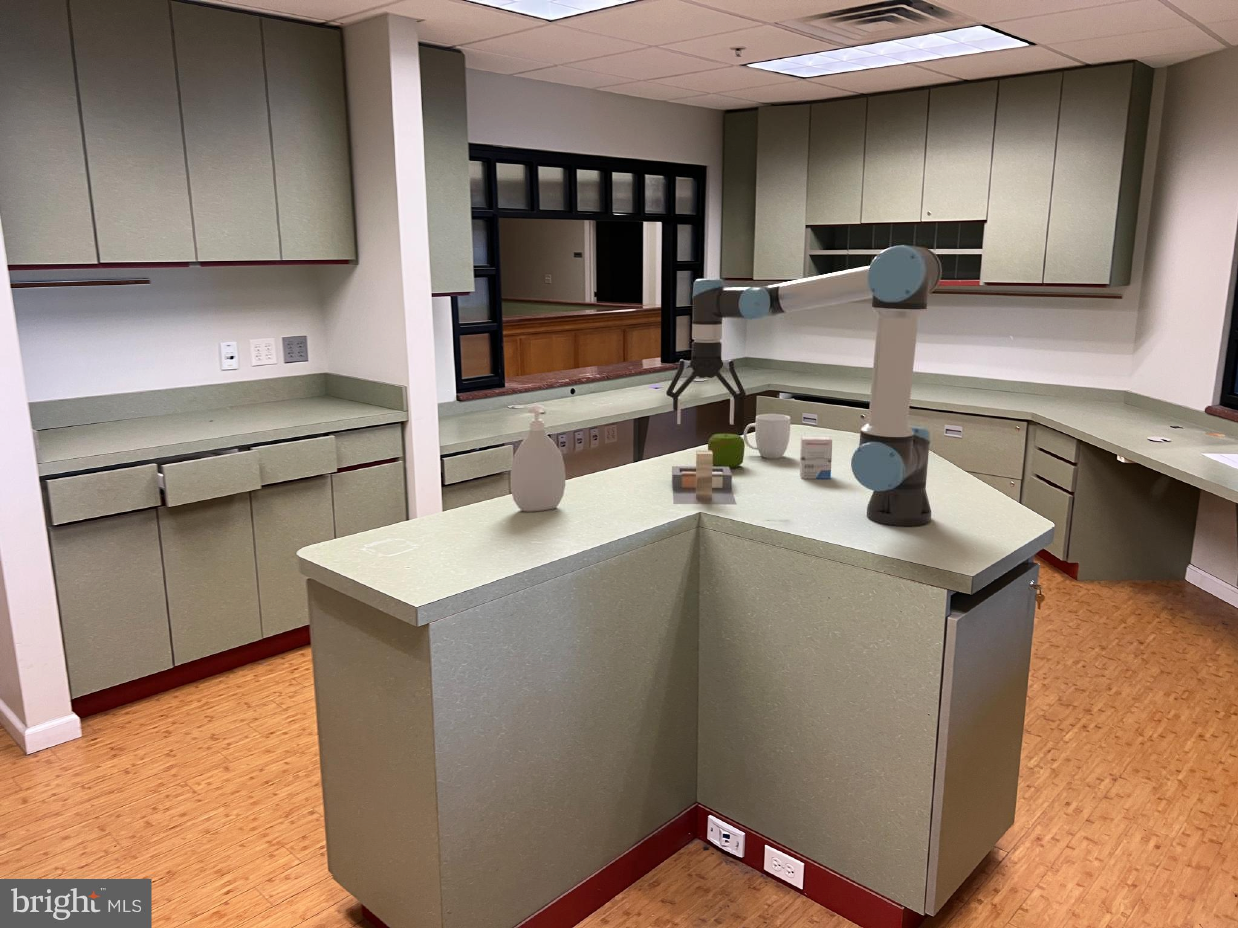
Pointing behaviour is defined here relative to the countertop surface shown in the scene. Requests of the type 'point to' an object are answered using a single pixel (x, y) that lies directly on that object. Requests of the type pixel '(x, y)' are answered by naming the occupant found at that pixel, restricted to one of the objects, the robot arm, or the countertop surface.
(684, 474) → the socket station
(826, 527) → the countertop surface
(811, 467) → the ink box
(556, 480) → the soap bottle
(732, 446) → the apple
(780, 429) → the mug
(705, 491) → the birch plug
